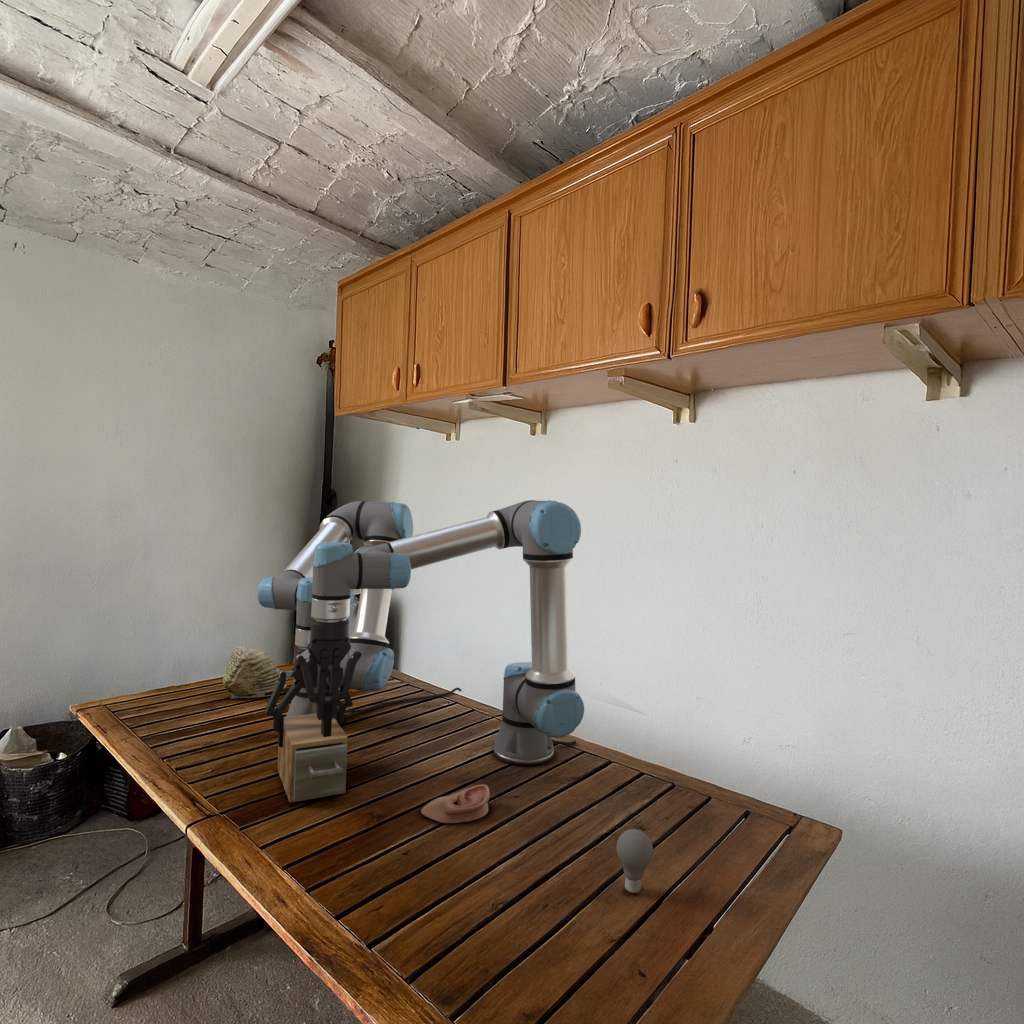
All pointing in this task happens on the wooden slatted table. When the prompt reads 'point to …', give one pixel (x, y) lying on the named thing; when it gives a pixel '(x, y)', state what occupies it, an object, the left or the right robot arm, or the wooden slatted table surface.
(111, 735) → the wooden slatted table surface
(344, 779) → the drawer
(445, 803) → the anatomical model
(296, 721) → the cabinet
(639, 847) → the light bulb
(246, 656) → the fossil
